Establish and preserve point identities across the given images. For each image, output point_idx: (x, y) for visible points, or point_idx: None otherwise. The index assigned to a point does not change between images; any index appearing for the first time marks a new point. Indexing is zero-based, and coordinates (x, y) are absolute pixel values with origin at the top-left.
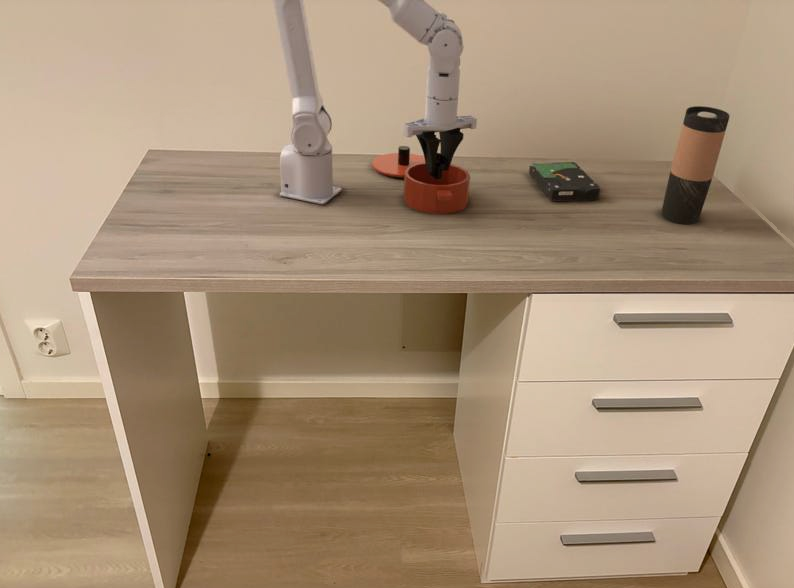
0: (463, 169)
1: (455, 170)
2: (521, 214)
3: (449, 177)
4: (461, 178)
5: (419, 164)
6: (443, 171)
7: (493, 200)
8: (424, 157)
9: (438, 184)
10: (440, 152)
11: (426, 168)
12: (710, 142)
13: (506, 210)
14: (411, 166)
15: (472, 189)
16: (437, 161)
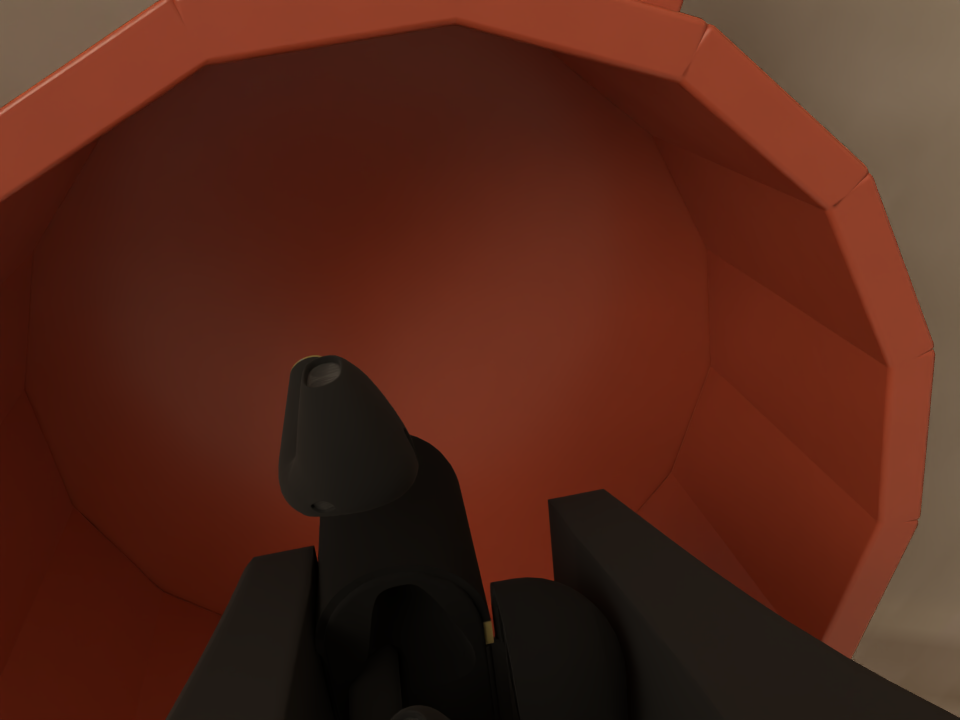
0: (909, 458)
1: (836, 308)
2: (943, 708)
3: (731, 186)
4: (807, 405)
5: (262, 51)
6: (700, 134)
7: (935, 448)
8: (170, 714)
9: (575, 69)
10: (660, 634)
11: (242, 578)
12: None
13: (894, 638)
14: (34, 126)
15: (935, 144)
16: (479, 666)
